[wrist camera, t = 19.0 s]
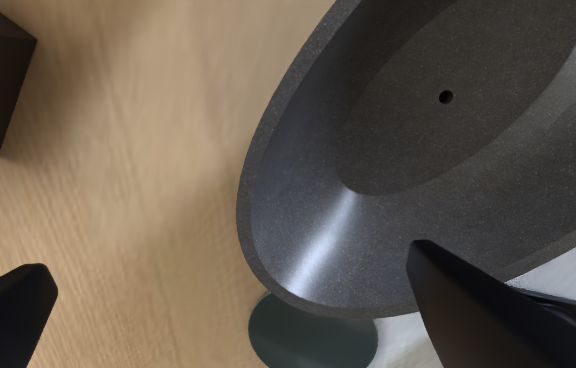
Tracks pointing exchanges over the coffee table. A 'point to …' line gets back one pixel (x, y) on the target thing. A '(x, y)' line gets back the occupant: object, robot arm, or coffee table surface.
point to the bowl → (413, 150)
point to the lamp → (12, 66)
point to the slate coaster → (309, 337)
